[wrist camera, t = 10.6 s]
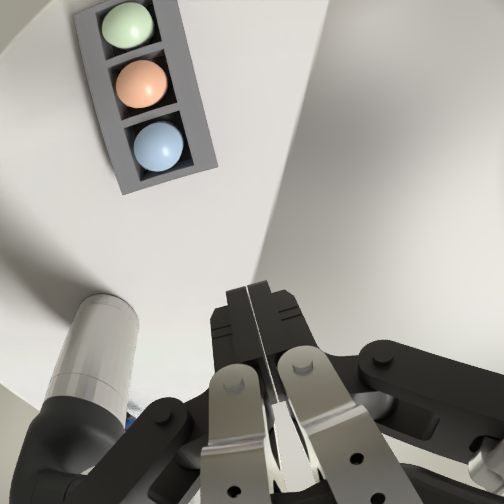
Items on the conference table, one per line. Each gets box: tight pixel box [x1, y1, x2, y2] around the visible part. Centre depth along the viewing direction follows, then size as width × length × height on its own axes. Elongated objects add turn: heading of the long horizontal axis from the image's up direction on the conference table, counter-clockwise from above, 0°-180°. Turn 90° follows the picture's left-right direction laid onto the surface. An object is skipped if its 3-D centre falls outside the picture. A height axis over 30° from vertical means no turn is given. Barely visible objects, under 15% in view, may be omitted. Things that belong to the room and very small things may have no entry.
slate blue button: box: [134, 121, 184, 171], centre depth 29 cm, size 5×5×4 cm
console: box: [74, 0, 218, 195], centre depth 27 cm, size 20×10×4 cm, turn 12°
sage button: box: [102, 2, 155, 51], centre depth 23 cm, size 5×5×4 cm
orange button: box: [116, 60, 169, 108], centre depth 26 cm, size 5×5×4 cm
